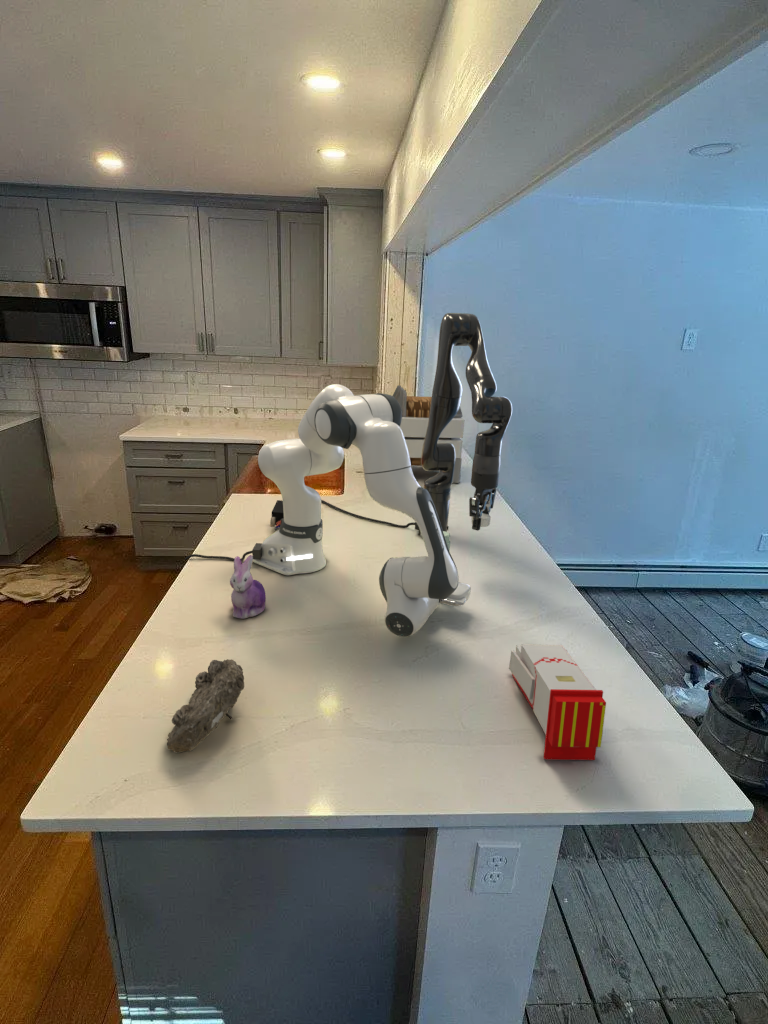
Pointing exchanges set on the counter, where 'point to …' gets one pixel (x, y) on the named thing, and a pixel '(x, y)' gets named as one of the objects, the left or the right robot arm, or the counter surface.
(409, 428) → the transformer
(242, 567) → the figurine
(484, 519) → the lid
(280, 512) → the figurine character
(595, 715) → the toy
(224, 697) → the fossil
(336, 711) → the counter surface
